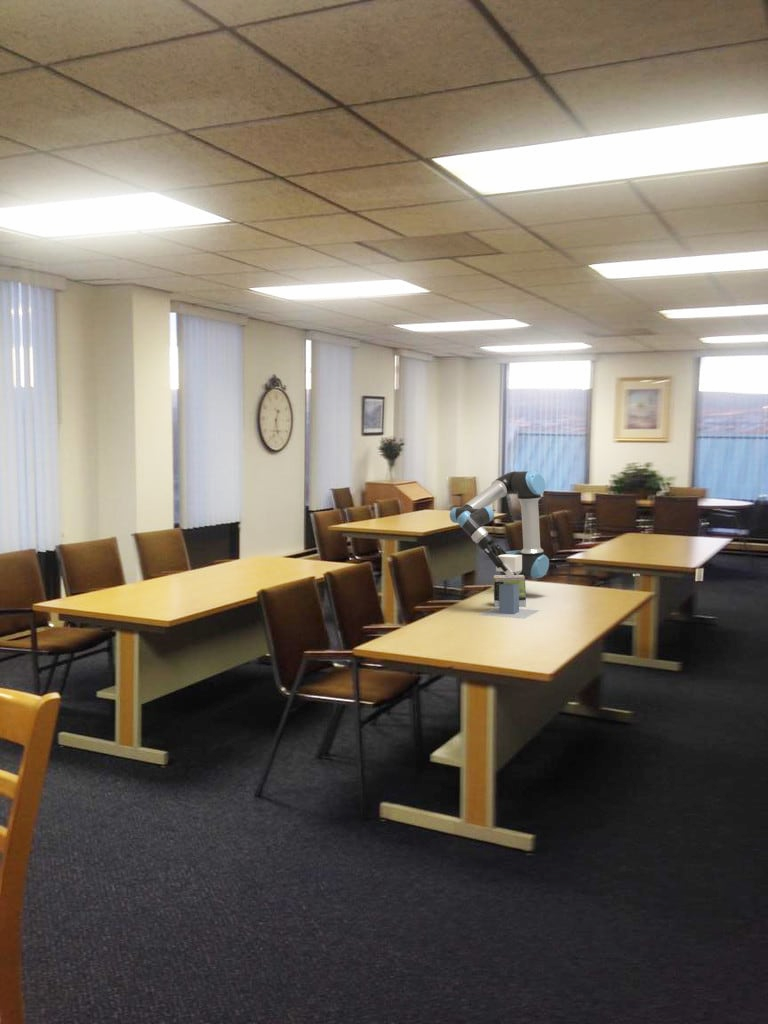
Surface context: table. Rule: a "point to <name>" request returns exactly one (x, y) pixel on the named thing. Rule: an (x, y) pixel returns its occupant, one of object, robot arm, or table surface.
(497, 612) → the mat
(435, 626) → the table surface
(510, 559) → the cap
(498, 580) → the tea box
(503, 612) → the carton
